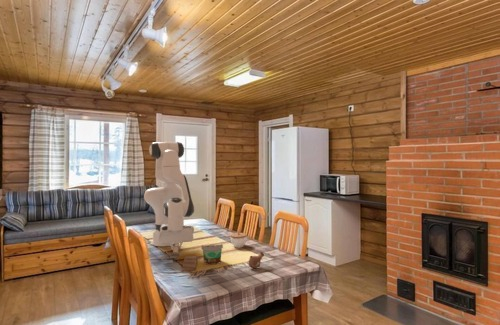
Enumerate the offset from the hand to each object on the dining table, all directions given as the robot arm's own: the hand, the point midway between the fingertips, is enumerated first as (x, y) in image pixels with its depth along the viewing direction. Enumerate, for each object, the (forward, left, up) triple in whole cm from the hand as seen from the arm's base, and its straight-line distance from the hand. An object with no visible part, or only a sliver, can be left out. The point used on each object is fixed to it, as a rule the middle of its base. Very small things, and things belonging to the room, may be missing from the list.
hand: (176, 249), depth 182 cm
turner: (+2, 0, -2) cm, 3 cm away
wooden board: (+12, +9, -5) cm, 15 cm away
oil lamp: (+23, +45, -6) cm, 50 cm away
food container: (+12, +22, -6) cm, 25 cm away
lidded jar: (-18, +39, -6) cm, 43 cm away
